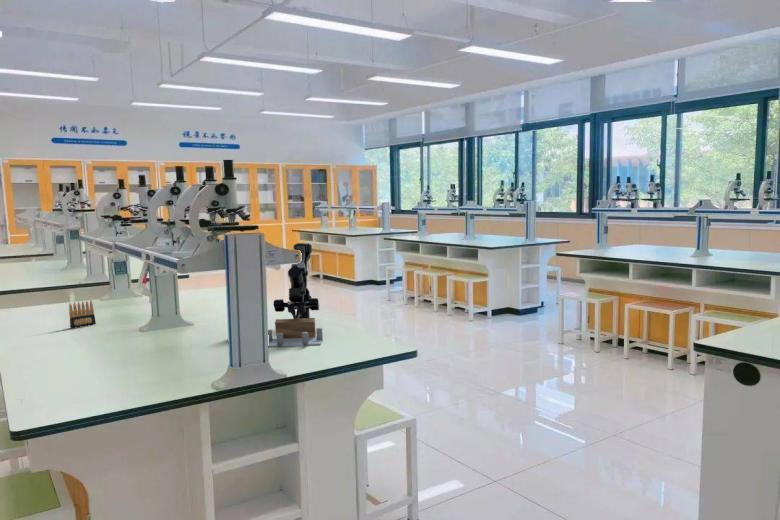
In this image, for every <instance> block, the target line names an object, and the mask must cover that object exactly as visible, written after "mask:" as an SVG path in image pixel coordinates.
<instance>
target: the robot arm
mask: <svg viewBox="0 0 780 520" xmlns="http://www.w3.org/2000/svg"><path fill="white" fill-rule="evenodd" d="M292 246H293V250H294V249H295V250H300V251H301V253H302V261H301V262H300V263H298V264H293V263H292V264H291V265H290V268H289V269H288V271H287V275H288V278H289V282H290V288H289V289H288V301H287V302H284V301H285V300H284V298H283V299H282V298H281V299H274V301H273V308H274V312H277V313H278V312H280V313H281V312H284V311H285V309H286V308H287V312H288V313H290V314H291V316H292V319H300V318H311V316H310V311H319V310H320V303H319V299H318V298H317V297H313V298H312V295H311V294H310V290H309V288H308V275H309V270H308V261H310V259H311V257H312V253H313V246H312V244H311V243H308V242H307V243H305V242H296V243H295V244H293V245H292Z"/></svg>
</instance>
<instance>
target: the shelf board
mask: <svg viewBox="0 0 780 520" xmlns="http://www.w3.org/2000/svg"><path fill="white" fill-rule="evenodd" d="M274 325H275V336H276V337H275V339H277V333H283V338H302V332H308V337H317V333H316V320H315V317H310V318H300V319H294V318H281V319H279V318H276V319H275V321H274Z"/></svg>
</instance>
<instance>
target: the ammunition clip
mask: <svg viewBox="0 0 780 520" xmlns="http://www.w3.org/2000/svg"><path fill="white" fill-rule="evenodd" d="M68 308H69V309H68V311H69V313H68V315H69V327H71V328H70V329H75V328H74V327H77V328H81V327H80V326H84V327H87V326H86V325H90V326H94V325H93V324H96V323H97V322H96V316H95V311H94V310H95V309H94V304H93V301H92V300H90V301H89V302H88V300H86V301H85V303H84V301H83V300H82V302H81V304H80V302H79V301H78V302H77V304H76V303H75V302H73V304H72V303H70V302H69V305H68ZM96 325H97V324H96Z"/></svg>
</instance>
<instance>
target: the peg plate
mask: <svg viewBox="0 0 780 520" xmlns="http://www.w3.org/2000/svg"><path fill="white" fill-rule="evenodd" d="M267 330H268V335H269V347H268V348H276V347H278V348H279V347H280V348H281V347H303V346H304V347H306V346H321V344H322V341H323V340H324V339H323V335H324V334H323V328H322V327H315V330H316V337H308V332H302V338H283V333H277V338H273V330H272V329H267Z"/></svg>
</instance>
